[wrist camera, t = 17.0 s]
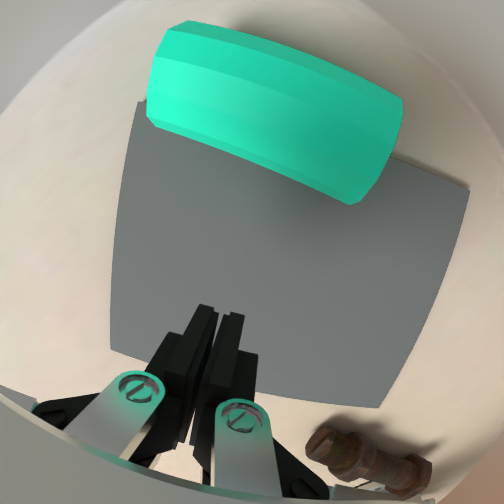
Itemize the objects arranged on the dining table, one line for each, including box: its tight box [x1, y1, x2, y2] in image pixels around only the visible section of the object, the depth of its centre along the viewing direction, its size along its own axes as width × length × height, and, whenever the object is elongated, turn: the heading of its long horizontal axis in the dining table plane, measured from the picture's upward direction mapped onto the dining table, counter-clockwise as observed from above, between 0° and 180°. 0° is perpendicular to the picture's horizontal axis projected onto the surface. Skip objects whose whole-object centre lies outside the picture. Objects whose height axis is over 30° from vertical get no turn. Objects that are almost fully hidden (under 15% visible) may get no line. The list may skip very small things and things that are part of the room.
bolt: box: [305, 427, 432, 501], centre depth 21 cm, size 6×5×15 cm
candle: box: [146, 20, 403, 205], centre depth 13 cm, size 6×6×12 cm
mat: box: [110, 102, 470, 408], centre depth 19 cm, size 22×18×1 cm
